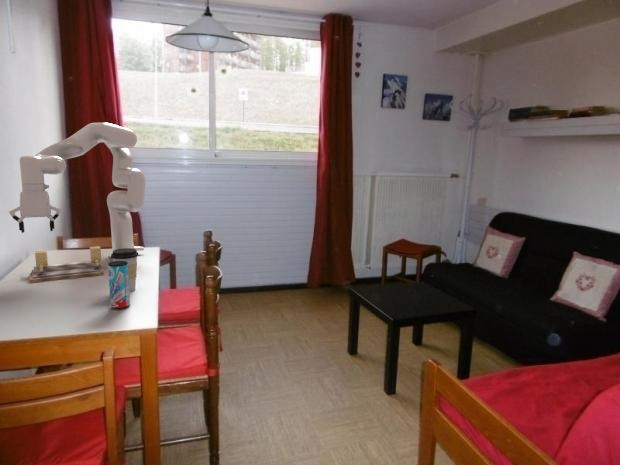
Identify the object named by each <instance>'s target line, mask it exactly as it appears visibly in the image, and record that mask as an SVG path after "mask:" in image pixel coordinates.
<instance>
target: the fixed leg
mask: <svg viewBox="0 0 620 465" xmlns="http://www.w3.org/2000/svg"><path fill="white" fill-rule="evenodd" d="M89 252H90V253H89V254H90V255H89V257H90V261H91V263H92V262H96V268H98V267H99V265H98V262H99V263H101V262H102V250H101V246H99V245H98V246H89Z"/></svg>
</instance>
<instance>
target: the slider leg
mask: <svg viewBox="0 0 620 465" xmlns="http://www.w3.org/2000/svg"><path fill="white" fill-rule="evenodd" d="M34 257H35V258H34V259H35V266H36V268H39V267H40V273H43V267H48V265H49V261H48V260H49V259H48V258H49V257H48V250H36V251H35V252H34Z"/></svg>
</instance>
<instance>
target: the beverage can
mask: <svg viewBox="0 0 620 465" xmlns="http://www.w3.org/2000/svg"><path fill="white" fill-rule="evenodd" d="M107 268H108V269H107V270H108V271H107V272H108V285H109V296H110V297H109V298H110V307H111V309H112V310H125V309H127V308H129V307H130V306H131V297H130V296H131V294H130V293H131V292H129V276H128V262H126V261H114V262H113V261H110V262H108V263H107Z"/></svg>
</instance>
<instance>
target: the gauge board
mask: <svg viewBox="0 0 620 465" xmlns="http://www.w3.org/2000/svg"><path fill="white" fill-rule="evenodd" d="M98 265H99V267H98V268H96V262H92V263H91V260H88V261H87V260H86V261H77V262H67V263H56V264H48V267H43V273H40V267H39V268H36V265H35V266H33V269H31V271H30V276H29V283H30V284H31V283H42V282H50V281H59V280H70V279H76V278H77V279H78V278H87V277H96V276H104V275H105V274H104V273H105V272H104V269H103V265H102V263H101V262H98Z"/></svg>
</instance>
